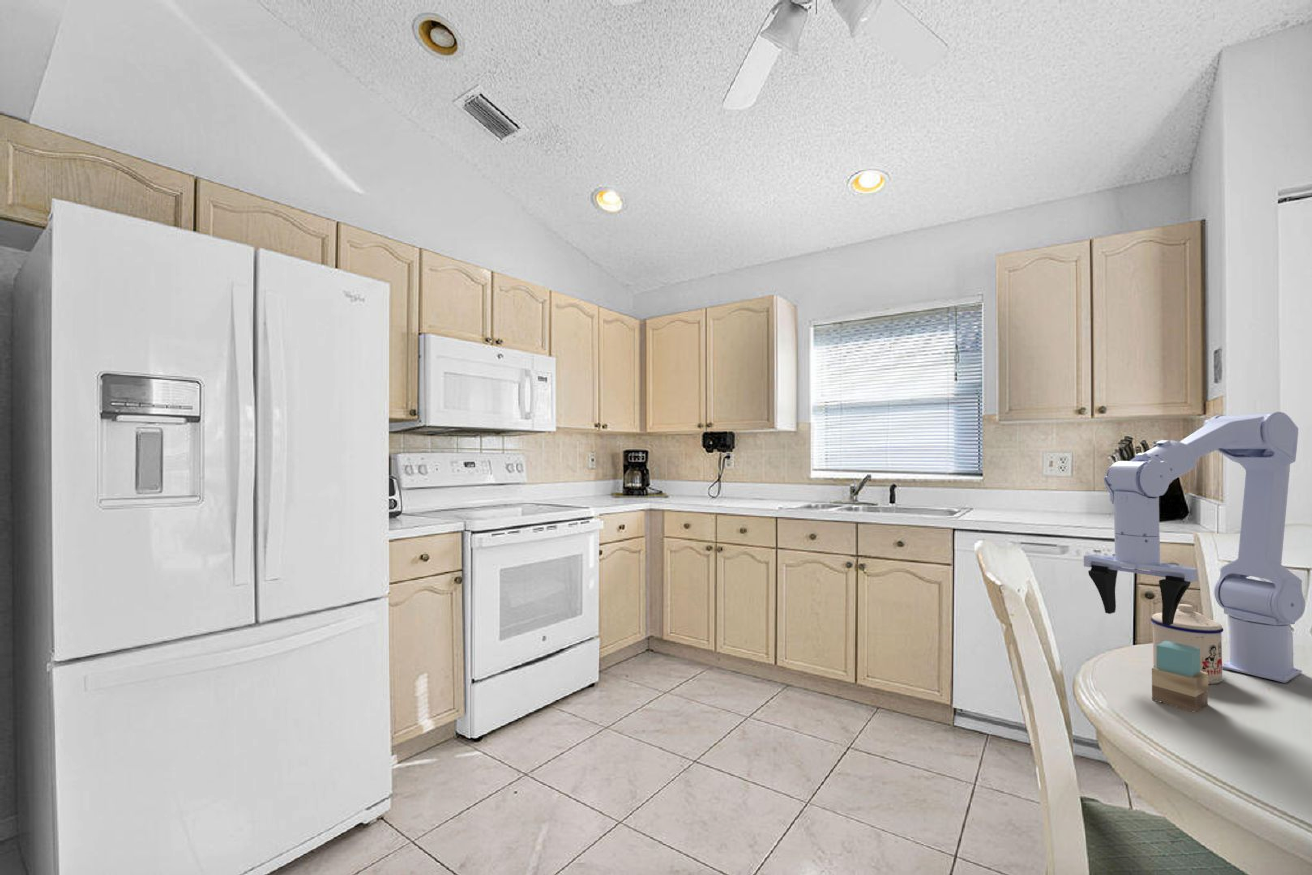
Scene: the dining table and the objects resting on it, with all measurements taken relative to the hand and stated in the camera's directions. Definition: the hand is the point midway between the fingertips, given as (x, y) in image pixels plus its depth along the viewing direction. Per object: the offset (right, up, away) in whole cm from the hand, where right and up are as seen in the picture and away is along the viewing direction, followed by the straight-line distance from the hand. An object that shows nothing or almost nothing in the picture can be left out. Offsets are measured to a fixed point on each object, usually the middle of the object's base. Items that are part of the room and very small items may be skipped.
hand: (1138, 618), depth 96 cm
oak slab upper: (0, -8, -8) cm, 11 cm away
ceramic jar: (+12, -11, +4) cm, 17 cm away
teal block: (0, -6, -8) cm, 9 cm away
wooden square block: (0, -11, -8) cm, 13 cm away
